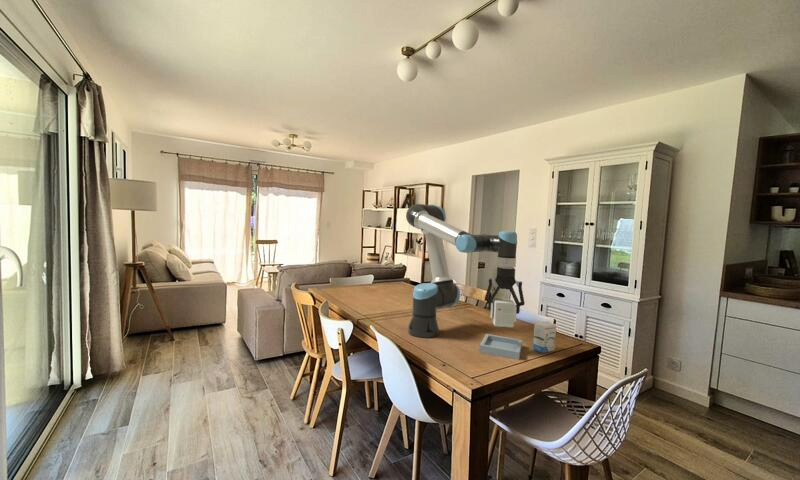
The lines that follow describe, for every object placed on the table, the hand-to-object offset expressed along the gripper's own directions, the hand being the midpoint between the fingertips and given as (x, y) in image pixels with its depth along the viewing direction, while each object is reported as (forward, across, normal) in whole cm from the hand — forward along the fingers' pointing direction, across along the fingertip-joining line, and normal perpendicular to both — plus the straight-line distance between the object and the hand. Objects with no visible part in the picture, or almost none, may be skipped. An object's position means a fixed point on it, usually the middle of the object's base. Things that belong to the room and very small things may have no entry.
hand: (503, 318), depth 146 cm
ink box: (+14, +17, +9) cm, 24 cm away
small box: (+3, 0, 0) cm, 3 cm away
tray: (+13, 0, 0) cm, 13 cm away
